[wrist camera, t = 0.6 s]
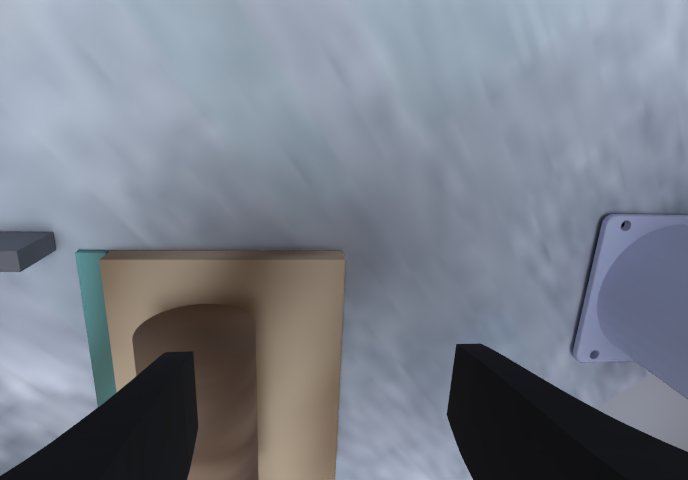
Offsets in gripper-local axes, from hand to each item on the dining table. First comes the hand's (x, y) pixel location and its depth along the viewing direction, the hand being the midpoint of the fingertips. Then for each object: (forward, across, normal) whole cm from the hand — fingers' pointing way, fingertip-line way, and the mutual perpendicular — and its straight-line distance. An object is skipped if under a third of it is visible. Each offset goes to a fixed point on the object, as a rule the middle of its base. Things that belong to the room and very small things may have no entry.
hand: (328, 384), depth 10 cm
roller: (+6, +4, +6) cm, 10 cm away
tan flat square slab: (+10, +4, +6) cm, 12 cm away
